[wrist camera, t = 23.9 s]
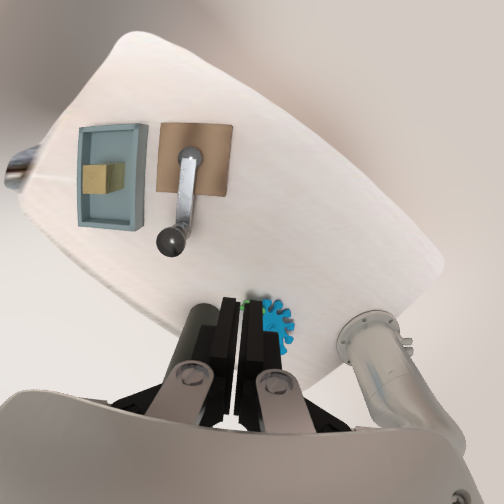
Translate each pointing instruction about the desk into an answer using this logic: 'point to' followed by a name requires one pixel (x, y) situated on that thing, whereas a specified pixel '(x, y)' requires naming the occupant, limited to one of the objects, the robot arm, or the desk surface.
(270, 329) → the blue lobed piece
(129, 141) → the tray
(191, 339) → the wine bottle
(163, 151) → the crank base
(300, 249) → the desk surface
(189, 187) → the crank
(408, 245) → the desk surface
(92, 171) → the block
